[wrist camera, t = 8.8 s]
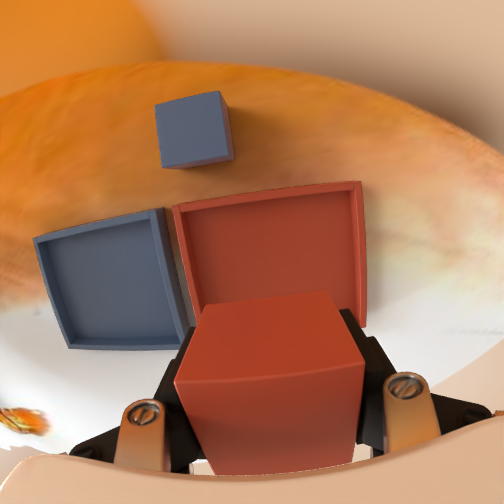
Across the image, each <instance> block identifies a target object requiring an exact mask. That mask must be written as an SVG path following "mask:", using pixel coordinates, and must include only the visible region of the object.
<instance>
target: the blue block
mask: <svg viewBox="0 0 504 504" xmlns="http://www.w3.org/2000/svg"><path fill="white" fill-rule="evenodd" d="M154 107H155V117H156V126H157V134H158V142H159V150H160V157H161V164H162V168H167V169H180V170H181V169H186V168H191V167H196V166H202V165H207V164H213V163H219V162H225V161H231V160H235V155H234V148H233V141H232V134H231V127H230V121H229V114H228V107H227V105H226V103H225V101H224V99H223V97H222V95H221V93H220V91H214V92H209V93H204V94H199V95H194V96H190V97H185V98H181V99H177V100H173V101H169V102H165V103H161V104H158V105H155V106H154Z"/></svg>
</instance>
